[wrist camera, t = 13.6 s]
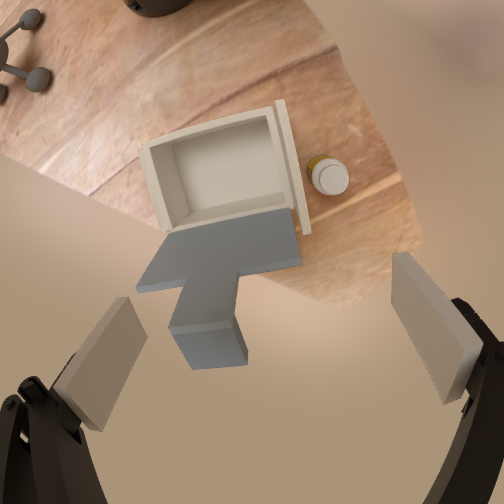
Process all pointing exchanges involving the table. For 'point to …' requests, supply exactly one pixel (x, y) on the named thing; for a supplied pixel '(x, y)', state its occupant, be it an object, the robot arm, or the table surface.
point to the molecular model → (33, 79)
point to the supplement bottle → (327, 175)
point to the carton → (225, 170)
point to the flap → (218, 280)
